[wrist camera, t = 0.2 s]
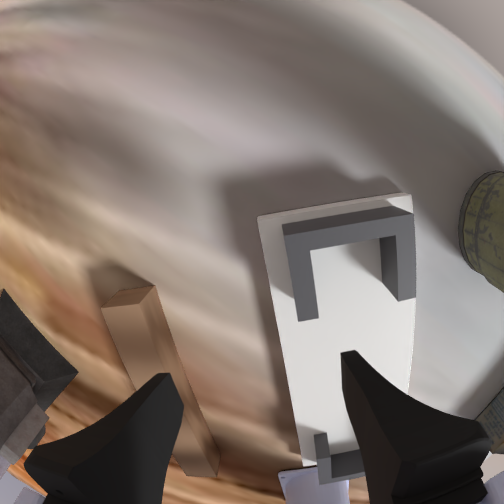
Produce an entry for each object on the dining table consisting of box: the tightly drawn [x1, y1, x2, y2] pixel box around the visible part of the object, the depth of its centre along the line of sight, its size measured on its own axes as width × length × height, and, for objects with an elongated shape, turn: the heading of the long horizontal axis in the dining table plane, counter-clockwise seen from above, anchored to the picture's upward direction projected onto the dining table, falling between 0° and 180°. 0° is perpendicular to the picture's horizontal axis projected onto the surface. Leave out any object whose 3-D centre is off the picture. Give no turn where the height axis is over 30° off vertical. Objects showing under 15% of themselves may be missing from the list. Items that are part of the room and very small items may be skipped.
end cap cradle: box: [257, 192, 416, 485], centre depth 20 cm, size 25×10×4 cm, turn 11°
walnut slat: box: [101, 285, 221, 477], centre depth 23 cm, size 20×3×4 cm, turn 11°
